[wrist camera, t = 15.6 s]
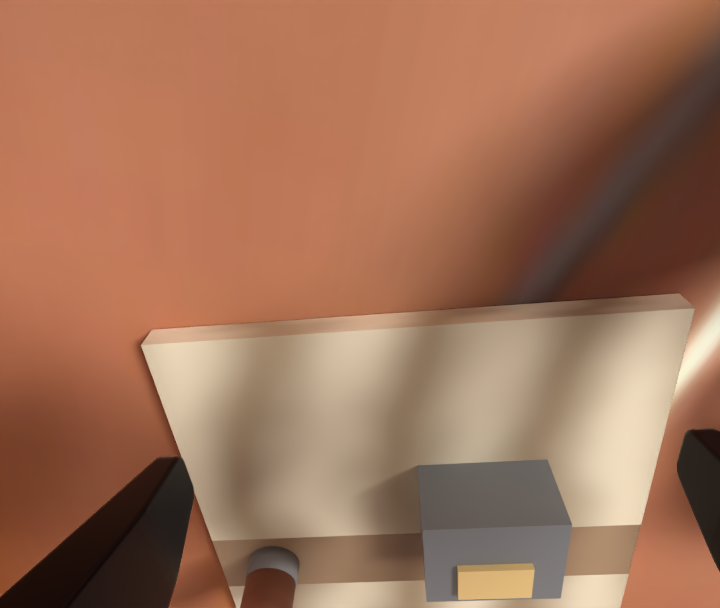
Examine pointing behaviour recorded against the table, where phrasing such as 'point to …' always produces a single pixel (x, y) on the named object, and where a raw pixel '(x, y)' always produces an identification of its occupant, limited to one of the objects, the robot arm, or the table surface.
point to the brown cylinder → (271, 578)
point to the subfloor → (419, 433)
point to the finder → (492, 531)
